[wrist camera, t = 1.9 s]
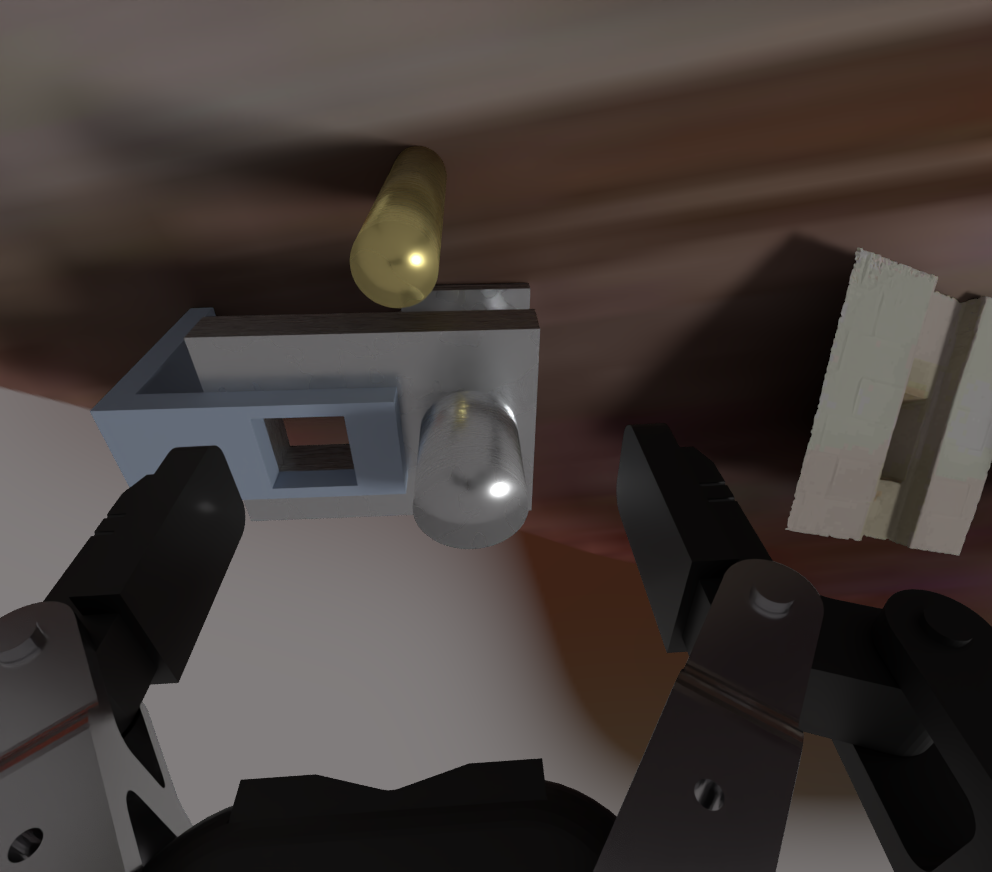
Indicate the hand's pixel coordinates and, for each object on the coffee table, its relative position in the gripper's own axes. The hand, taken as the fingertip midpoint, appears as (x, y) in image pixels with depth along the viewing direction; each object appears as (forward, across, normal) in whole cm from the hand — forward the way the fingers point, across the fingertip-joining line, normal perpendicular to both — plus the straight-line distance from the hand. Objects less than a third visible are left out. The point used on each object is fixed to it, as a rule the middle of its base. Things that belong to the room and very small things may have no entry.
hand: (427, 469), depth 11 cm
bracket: (+21, +8, +7) cm, 23 cm away
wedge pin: (+21, +1, -2) cm, 21 cm away
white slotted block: (+21, -26, +11) cm, 35 cm away
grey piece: (+21, +3, +7) cm, 22 cm away
